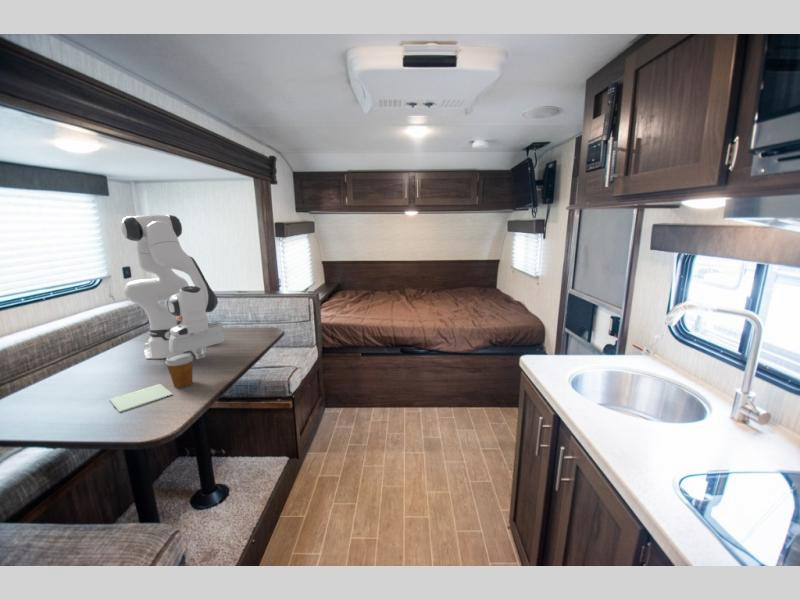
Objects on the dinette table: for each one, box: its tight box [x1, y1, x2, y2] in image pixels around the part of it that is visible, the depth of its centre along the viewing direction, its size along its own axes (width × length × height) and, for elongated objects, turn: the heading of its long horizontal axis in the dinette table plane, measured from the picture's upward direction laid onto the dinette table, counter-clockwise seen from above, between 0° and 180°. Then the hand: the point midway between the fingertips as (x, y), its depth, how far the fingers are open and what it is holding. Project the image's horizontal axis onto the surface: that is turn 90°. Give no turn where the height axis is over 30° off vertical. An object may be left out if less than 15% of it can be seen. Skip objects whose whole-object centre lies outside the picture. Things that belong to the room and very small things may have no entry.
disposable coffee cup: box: [164, 352, 194, 389], centre depth 135 cm, size 10×10×12 cm
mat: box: [108, 383, 174, 414], centre depth 125 cm, size 14×16×1 cm
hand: (200, 357), depth 140 cm, fingers closed
